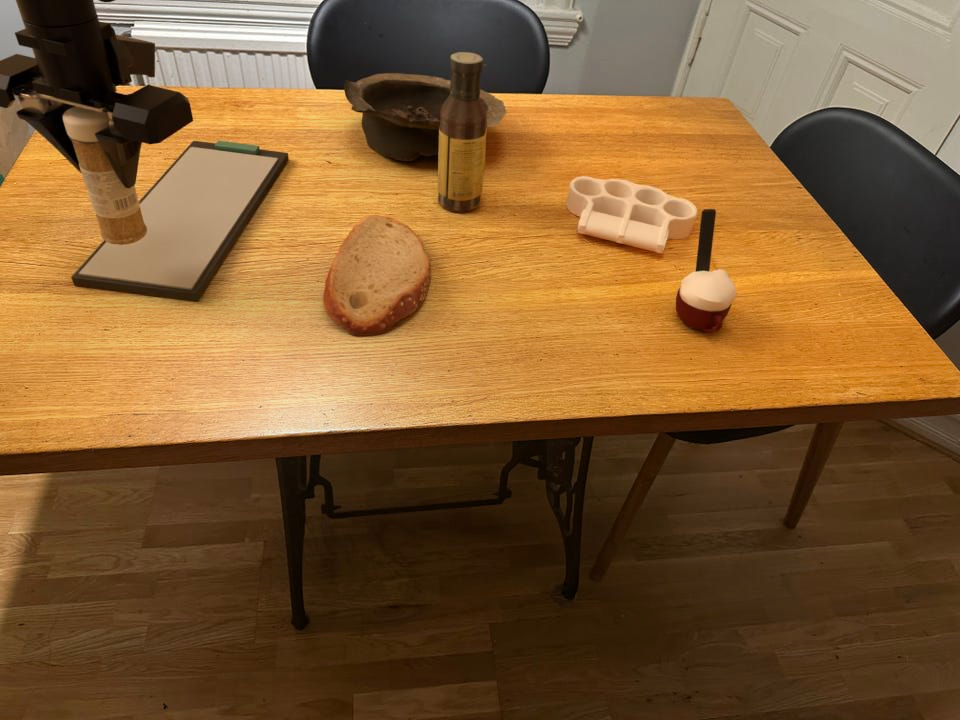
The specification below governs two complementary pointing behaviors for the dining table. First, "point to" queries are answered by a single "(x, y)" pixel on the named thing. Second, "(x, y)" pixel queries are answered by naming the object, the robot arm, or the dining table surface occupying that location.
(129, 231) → the sprinkles bottle
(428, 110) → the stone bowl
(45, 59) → the robot arm
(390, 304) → the slice of bread
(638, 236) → the knuckle duster
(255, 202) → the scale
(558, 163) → the dining table surface
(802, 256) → the dining table surface
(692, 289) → the cocoa
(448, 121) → the sauce bottle
